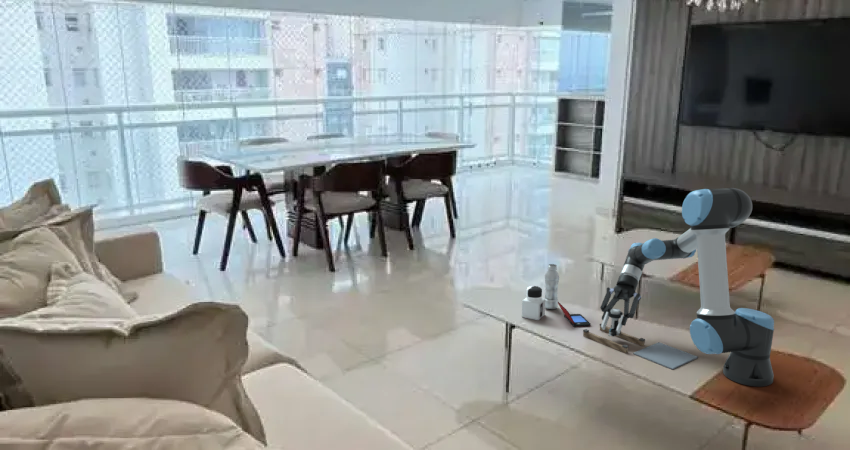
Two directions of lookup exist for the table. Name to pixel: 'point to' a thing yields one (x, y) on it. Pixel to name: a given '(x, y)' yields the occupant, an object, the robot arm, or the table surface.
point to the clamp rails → (610, 343)
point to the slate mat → (665, 355)
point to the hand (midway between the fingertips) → (610, 329)
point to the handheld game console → (575, 318)
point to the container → (533, 303)
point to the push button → (614, 321)
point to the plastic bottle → (551, 287)
